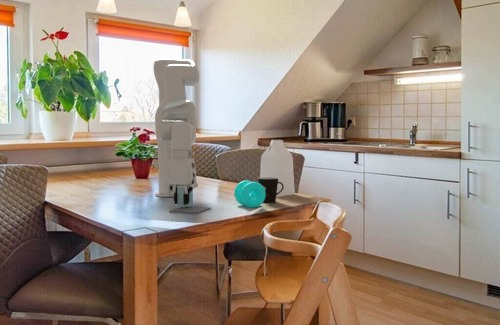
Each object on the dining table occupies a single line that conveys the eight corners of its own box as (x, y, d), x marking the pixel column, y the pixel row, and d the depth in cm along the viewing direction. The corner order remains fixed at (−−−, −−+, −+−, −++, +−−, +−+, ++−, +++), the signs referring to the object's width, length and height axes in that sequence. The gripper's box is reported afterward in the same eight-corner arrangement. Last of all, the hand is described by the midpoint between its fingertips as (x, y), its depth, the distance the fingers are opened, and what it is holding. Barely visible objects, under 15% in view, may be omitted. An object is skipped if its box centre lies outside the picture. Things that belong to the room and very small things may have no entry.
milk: (276, 198, 212) (276, 140, 211) (259, 195, 221) (259, 140, 219) (294, 196, 220) (295, 140, 219) (277, 193, 229) (277, 140, 227)
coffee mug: (254, 201, 202) (254, 177, 201) (272, 200, 205) (272, 177, 205) (266, 204, 191) (266, 179, 191) (285, 203, 195) (285, 179, 194)
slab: (186, 204, 184) (185, 183, 183) (193, 204, 182) (192, 184, 182) (177, 206, 177) (177, 185, 177) (184, 207, 176) (184, 185, 175)
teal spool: (242, 208, 180) (242, 182, 179) (233, 205, 189) (233, 180, 188) (266, 207, 184) (266, 181, 183) (256, 204, 193) (256, 179, 192)
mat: (184, 207, 182) (184, 206, 182) (210, 209, 179) (210, 207, 179) (169, 212, 171) (169, 210, 171) (196, 213, 167) (196, 212, 167)
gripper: (205, 154, 177) (205, 203, 178) (166, 154, 182) (167, 201, 183) (197, 155, 170) (197, 206, 171) (156, 154, 175) (157, 204, 176)
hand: (181, 203), depth 177 cm, fingers closed on slab, 3 cm apart
